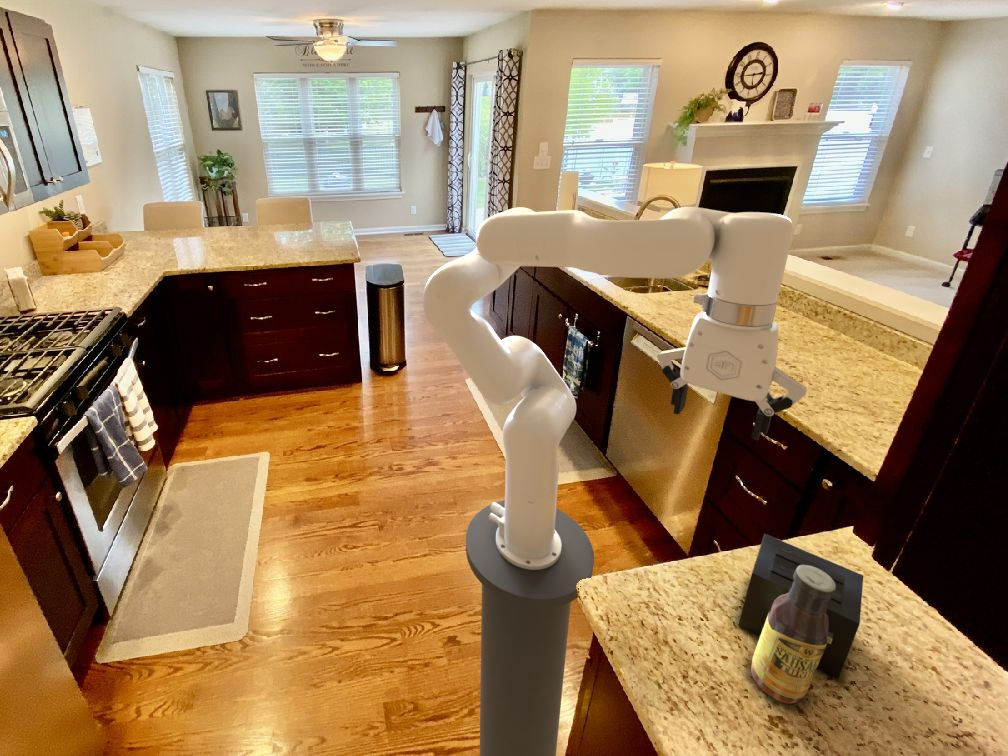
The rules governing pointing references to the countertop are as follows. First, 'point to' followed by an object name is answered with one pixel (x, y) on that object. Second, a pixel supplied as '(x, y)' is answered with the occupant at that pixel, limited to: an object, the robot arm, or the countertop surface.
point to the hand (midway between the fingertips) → (715, 422)
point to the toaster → (777, 579)
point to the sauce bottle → (794, 636)
